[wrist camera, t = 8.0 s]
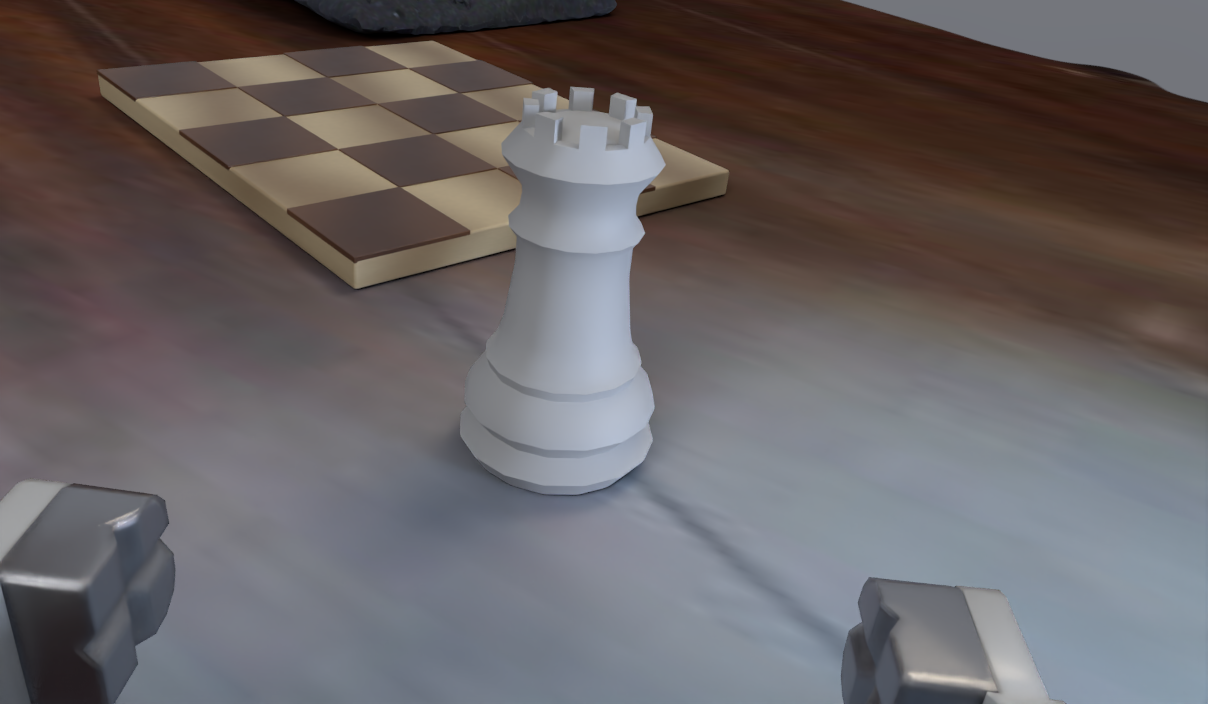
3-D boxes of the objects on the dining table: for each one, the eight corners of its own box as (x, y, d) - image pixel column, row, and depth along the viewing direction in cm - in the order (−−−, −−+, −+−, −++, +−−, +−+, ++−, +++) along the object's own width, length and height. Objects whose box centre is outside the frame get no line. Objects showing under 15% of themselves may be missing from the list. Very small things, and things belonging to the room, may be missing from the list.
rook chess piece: (478, 381, 26) (494, 62, 22) (654, 405, 25) (703, 90, 21) (437, 489, 22) (448, 125, 18) (644, 518, 22) (702, 158, 18)
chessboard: (432, 60, 51) (433, 39, 51) (726, 194, 39) (731, 168, 38) (100, 95, 41) (96, 69, 41) (354, 290, 29) (354, 257, 29)
